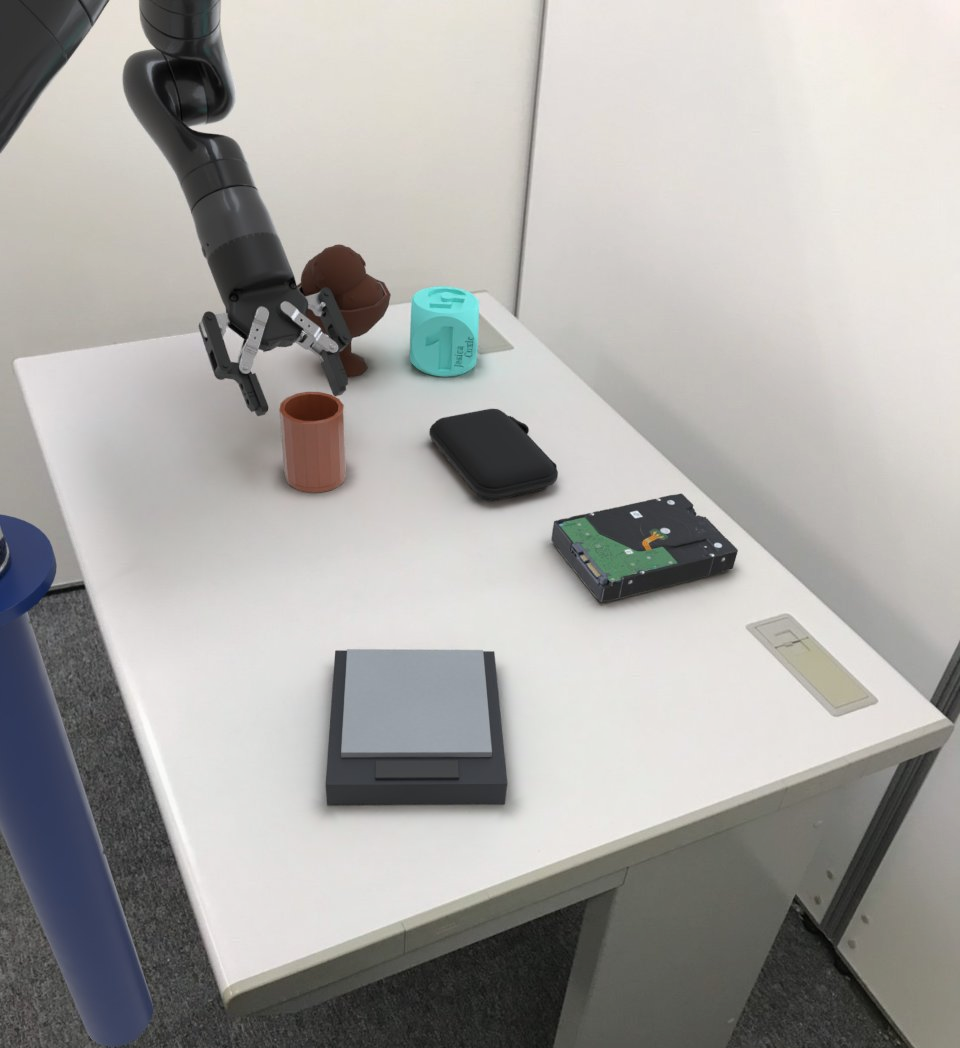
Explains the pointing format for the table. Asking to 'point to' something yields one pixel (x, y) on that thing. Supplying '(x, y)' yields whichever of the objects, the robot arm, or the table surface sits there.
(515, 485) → the carrying case
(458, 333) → the decorative dice
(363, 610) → the table surface
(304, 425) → the cup
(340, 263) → the ice cream bowl
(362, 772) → the scale
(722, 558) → the disk drive
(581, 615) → the table surface
